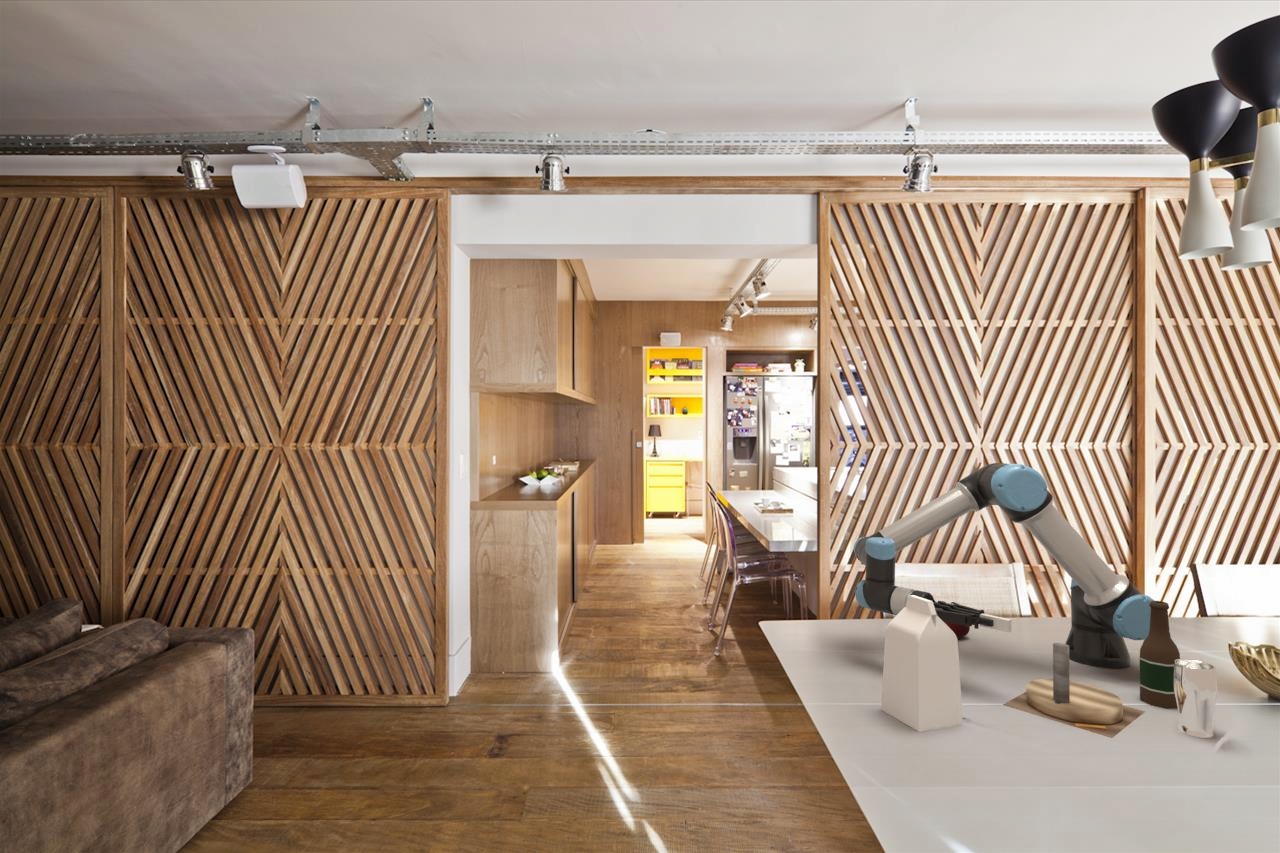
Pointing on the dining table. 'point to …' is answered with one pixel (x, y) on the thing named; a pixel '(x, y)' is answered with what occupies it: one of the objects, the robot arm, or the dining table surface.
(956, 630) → the apple
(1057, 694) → the cam dial
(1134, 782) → the dining table surface
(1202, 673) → the beer glass
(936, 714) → the milk
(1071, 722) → the dial base
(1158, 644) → the beer bottle
